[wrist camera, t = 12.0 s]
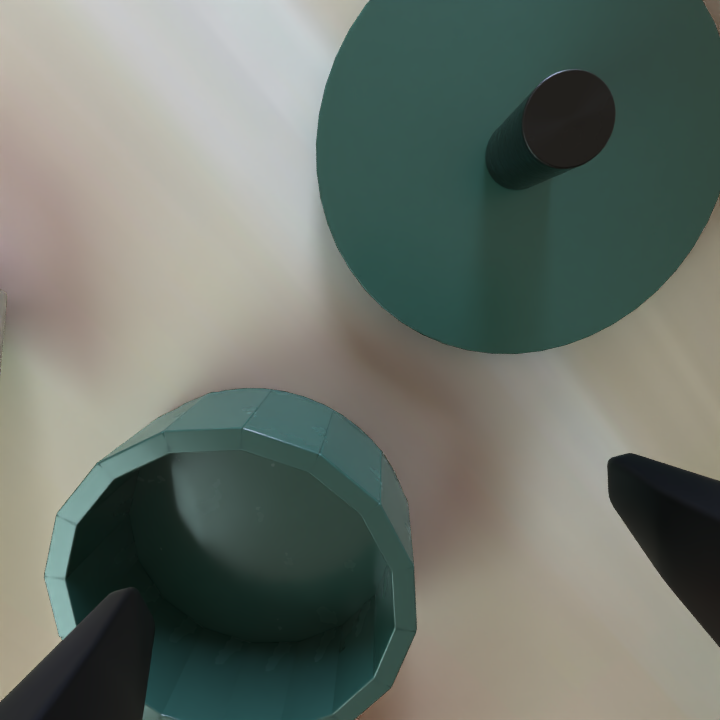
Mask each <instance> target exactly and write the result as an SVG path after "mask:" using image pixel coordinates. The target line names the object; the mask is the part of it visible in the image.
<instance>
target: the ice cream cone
mask: <svg viewBox="0 0 720 720" xmlns="http://www.w3.org/2000/svg"><path fill="white" fill-rule="evenodd" d="M6 303H7V294H6V293H5V292H4V291H2V290H0V374H1V362H2V350H3V339H4V327H5V315H6Z"/></svg>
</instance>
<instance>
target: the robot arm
mask: <svg viewBox="0 0 720 720" xmlns="http://www.w3.org/2000/svg"><path fill="white" fill-rule="evenodd" d="M607 471H608V492H609V498H610V501H611V503H612V505H613V507H614V508H615V510H616V511H617V513H618V514H619V516H620V517H621V519H622V520H623V522H624V523H625V524H626V526H627V527H628V529H629V530H630V532H631V533H632V535H633V536H634V538H635V539H636V541H637V542H638V544H639V545H640V546H641V548H642V549H643V551H644V552H645V554H646V555H647V557H648V558H649V560H650V561H651V563H652V564H653V566H654V567H655V568H656V570H657V571H658V573H659V574H660V575H661V577H662V578H663V580H664V581H665V582H666V583H667V585H668V586H669V587H670V588H671V590H672V591H673V592H674V593H675V594H676V596H677V597H678V598H679V599H680V600H681V602H682V603H683V604H684V605H685V606H686V608H687V609H688V610H689V611H690V612H691V614H692V615H693V616H694V617H695V618H696V620H697V621H698V622H699V623H700V624H701V626H702V627H703V628H704V629H705V630H706V632H707V633H708V634H709V635H710V636H711V638H712V639H713V640H714V641H715V642H716V644H717V645H718V646H719V647H720V481H718V480H714V479H711V478H708V477H705V476H702V475H699V474H696V473H693V472H690V471H686V470H683V469H680V468H677V467H674V466H671V465H668V464H665V463H661V462H658V461H655V460H652V459H649V458H646V457H643V456H640V455H636V454H633V453H627V454H623V455H619V456H616V457H612V458H611V459H609V461H608V464H607ZM154 635H155V622H154V618H153V616H152V614H151V612H150V610H149V608H148V607H147V605H146V603H145V601H144V599H143V598H142V596H141V594H140V592H139V591H138V589H136V588H134V587H129V588H125V589H121V590H117V591H114V592H112V593H110V594H109V595H108V596H107V597H106V598H105V599H104V600H103V601H102V602H101V603H100V604H99V605H98V606H97V607H96V608H95V609H94V610H93V611H91V612H90V613H89V614H88V615H87V616H86V617H85V618H84V619H83V620H82V621H81V622H80V623H79V624H78V625H77V626H76V627H75V628H74V629H73V630H72V631H71V632H70V633H69V634H68V635H67V636H66V637H65V638H64V639H63V640H62V641H61V642H60V643H59V644H58V645H57V646H56V647H55V648H54V649H53V650H52V651H51V652H50V653H49V654H48V655H47V656H46V657H45V658H44V659H43V660H42V661H41V662H40V663H39V664H38V665H37V666H36V667H35V668H34V669H33V670H32V671H31V672H30V673H29V674H28V675H27V676H26V677H25V678H24V679H23V680H22V681H21V682H20V683H19V684H18V685H17V686H16V687H15V688H14V689H13V690H12V691H11V692H10V693H9V694H8V695H7V696H6V697H5V698H4V699H3V700H2V701H1V702H0V720H142V718H143V712H144V706H145V699H146V692H147V685H148V678H149V671H150V664H151V656H152V649H153V642H154Z"/></svg>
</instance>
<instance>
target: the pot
mask: <svg viewBox="0 0 720 720" xmlns="http://www.w3.org/2000/svg"><path fill="white" fill-rule="evenodd" d="M44 579H45V583H46V586H47V590H48V594H49V598H50V602H51V606H52V610H53V614H54V618H55V622H56V626H57V630H58V634H59V637H61V639H62V640H63V639H64V638H65V637H66V636H67V635H68V634H69V633H70V632H71V631H72V630H73V629H74V628H75V627H76V626H77V625H78V624H79V623H80V622H81V621H82V620H83V619H84V618H85V617H86V616H87V615H88V614H89V613H90V612H91V611H93V610H94V609H95V608H96V607H97V606H98V605H99V604H100V603H101V602H102V601H103V600H104V599H105V598H106V597H107V596H108V595H109V594H110V593H112V592H114V591H117V590H121V589H125V588H129V587H134V588H136V589H138V591H139V592H140V594H141V596H142V598H143V599H144V601H145V603H146V605H147V607H148V608H149V610H150V612H151V614H152V616H153V618H154V622H155V635H154V642H153V649H152V656H151V664H150V671H149V678H148V685H147V692H146V699H145V706H144V712H143V718H142V720H355V719H356V718H357V717H358V716H359V715H360V714H362V713H363V712H364V711H365V710H366V709H367V708H368V707H370V706H371V705H372V704H373V703H374V702H375V701H377V700H378V699H379V698H380V697H381V696H382V695H384V694H385V693H386V692H387V691H388V690H389V689H390V688H391V687H392V685H393V683H394V681H395V679H396V676H397V674H398V672H399V670H400V667H401V665H402V663H403V661H404V658H405V656H406V654H407V652H408V649H409V647H410V645H411V643H412V641H413V638H414V636H415V634H416V630H417V618H416V597H415V575H414V560H413V550H412V540H411V529H410V519H409V508H408V502H407V499H406V497H405V495H404V493H403V491H402V488H401V486H400V484H399V481H398V479H397V477H396V474H395V472H394V470H393V469H392V467H391V465H390V464H389V462H388V460H387V459H386V457H385V455H384V454H383V452H382V451H381V450H380V449H379V448H378V447H377V446H376V444H375V443H374V442H373V441H372V440H371V439H370V438H369V437H368V436H367V435H366V434H365V433H364V432H363V431H362V430H361V429H360V428H359V427H358V426H356V425H355V424H354V423H352V422H351V421H350V420H348V419H347V418H346V417H344V416H343V415H341V414H340V413H338V412H336V411H334V410H333V409H331V408H329V407H327V406H325V405H324V404H321V403H319V402H316V401H314V400H311V399H309V398H306V397H304V396H300V395H296V394H293V393H289V392H285V391H278V390H272V389H263V388H242V389H233V390H224V391H220V392H211V393H208V394H206V395H204V396H202V397H199V398H197V399H194V400H192V401H189V402H187V403H185V404H183V405H182V406H180V407H178V408H177V409H175V410H173V411H171V412H169V413H167V414H165V415H162V416H160V417H158V418H157V419H155V420H154V421H153V422H151V423H150V424H149V425H147V426H146V427H145V428H143V429H142V430H141V431H139V432H138V433H137V434H135V435H134V436H133V437H131V438H130V439H129V440H127V441H126V442H125V443H123V444H122V445H120V446H119V447H118V448H116V449H115V450H114V451H112V452H111V453H110V454H108V455H107V456H106V457H104V458H103V459H102V460H100V461H99V462H98V463H97V464H96V465H95V466H94V467H93V469H92V470H91V471H90V472H89V474H88V475H87V476H86V477H85V479H84V480H83V481H82V482H81V484H80V485H79V486H78V487H77V489H76V490H75V491H74V492H73V494H72V495H71V496H70V497H69V499H68V500H67V501H66V502H65V504H64V505H63V506H62V507H61V509H60V510H59V511H58V512H57V515H56V518H55V523H54V528H53V533H52V538H51V543H50V548H49V553H48V558H47V563H46V568H45V573H44Z"/></svg>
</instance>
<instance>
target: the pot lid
mask: <svg viewBox="0 0 720 720" xmlns="http://www.w3.org/2000/svg"><path fill="white" fill-rule="evenodd" d="M316 162H317V177H318V184H319V191H320V198H321V202H322V205H323V209H324V213H325V216H326V220H327V224H328V226H329V229H330V231H331V233H332V236H333V238H334V241H335V243H336V246H337V248H338V250H339V252H340V253H341V255H342V257H343V259H344V260H345V262H346V264H347V266H348V267H349V269H350V271H351V272H352V273H353V275H354V276H355V277H356V279H357V280H358V281H359V283H360V284H361V285H362V287H363V288H364V289H365V290H366V291H367V292H368V293H369V294H370V295H371V296H372V297H373V298H374V300H375V301H376V302H377V303H378V304H379V305H380V306H381V307H382V308H384V309H385V310H386V311H388V312H389V313H390V314H391V315H393V316H394V317H395V318H396V319H398V320H399V321H400V322H402V323H403V324H405V325H407V326H409V327H410V328H412V329H414V330H415V331H417V332H419V333H420V334H422V335H425V336H427V337H429V338H432V339H434V340H436V341H439V342H441V343H444V344H447V345H450V346H454V347H458V348H461V349H465V350H469V351H477V352H484V353H491V354H520V353H528V352H537V351H543V350H547V349H552V348H556V347H560V346H564V345H567V344H570V343H573V342H575V341H578V340H581V339H583V338H586V337H589V336H591V335H593V334H595V333H597V332H599V331H601V330H603V329H605V328H607V327H609V326H611V325H612V324H614V323H616V322H617V321H619V320H620V319H622V318H623V317H625V316H626V315H628V314H629V313H631V312H632V311H634V310H635V309H636V308H638V307H639V306H640V305H641V304H642V303H643V302H645V301H646V300H647V299H648V298H649V297H650V296H652V295H653V294H654V293H655V292H656V291H657V290H658V289H659V288H660V287H661V286H662V285H663V284H664V283H665V282H666V281H667V280H668V279H669V278H670V276H671V275H672V274H673V273H674V272H675V271H676V270H677V269H678V267H679V266H680V264H681V263H682V262H683V260H684V259H685V258H686V256H687V255H688V254H689V252H690V251H691V250H692V248H693V247H694V245H695V243H696V241H697V240H698V238H699V236H700V235H701V233H702V231H703V229H704V228H705V226H706V224H707V222H708V220H709V218H710V215H711V213H712V211H713V208H714V206H715V204H716V201H717V199H718V197H719V194H720V36H719V33H718V31H717V28H716V25H715V23H714V21H713V19H712V17H711V15H710V13H709V12H708V10H707V8H706V6H705V4H704V3H703V1H702V0H369V2H368V3H367V4H366V5H365V7H364V8H363V10H362V11H361V13H360V14H359V16H358V17H357V19H356V20H355V22H354V24H353V25H352V27H351V28H350V30H349V31H348V33H347V35H346V37H345V39H344V41H343V43H342V45H341V47H340V49H339V51H338V53H337V55H336V57H335V60H334V63H333V66H332V69H331V72H330V74H329V77H328V80H327V83H326V86H325V90H324V94H323V99H322V103H321V108H320V112H319V120H318V129H317V139H316Z"/></svg>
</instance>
